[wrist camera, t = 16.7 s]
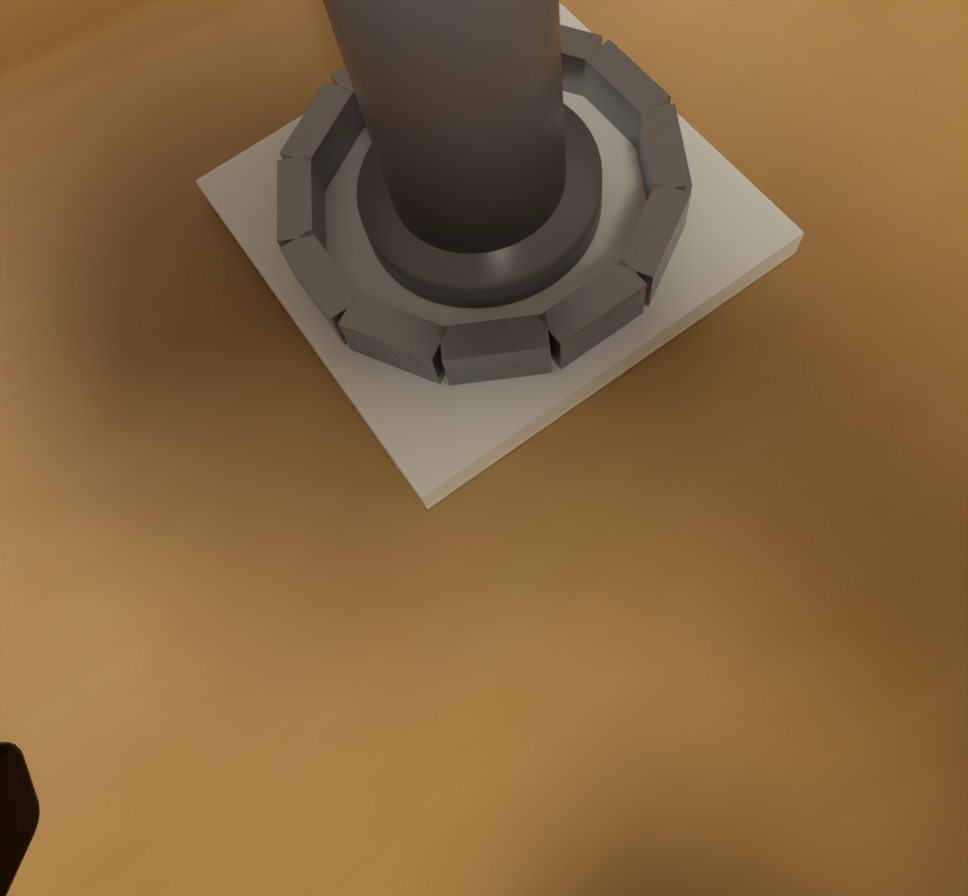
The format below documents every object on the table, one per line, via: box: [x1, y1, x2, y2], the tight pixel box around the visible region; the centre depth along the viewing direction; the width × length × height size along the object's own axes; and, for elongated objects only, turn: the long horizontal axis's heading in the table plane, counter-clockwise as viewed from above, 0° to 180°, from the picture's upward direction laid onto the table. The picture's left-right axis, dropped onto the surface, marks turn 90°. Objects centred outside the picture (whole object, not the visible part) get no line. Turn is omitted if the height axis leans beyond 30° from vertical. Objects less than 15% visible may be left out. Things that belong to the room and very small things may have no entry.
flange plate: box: [196, 2, 804, 509], centre depth 25 cm, size 13×13×2 cm
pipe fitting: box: [323, 0, 602, 308], centre depth 19 cm, size 7×7×13 cm
